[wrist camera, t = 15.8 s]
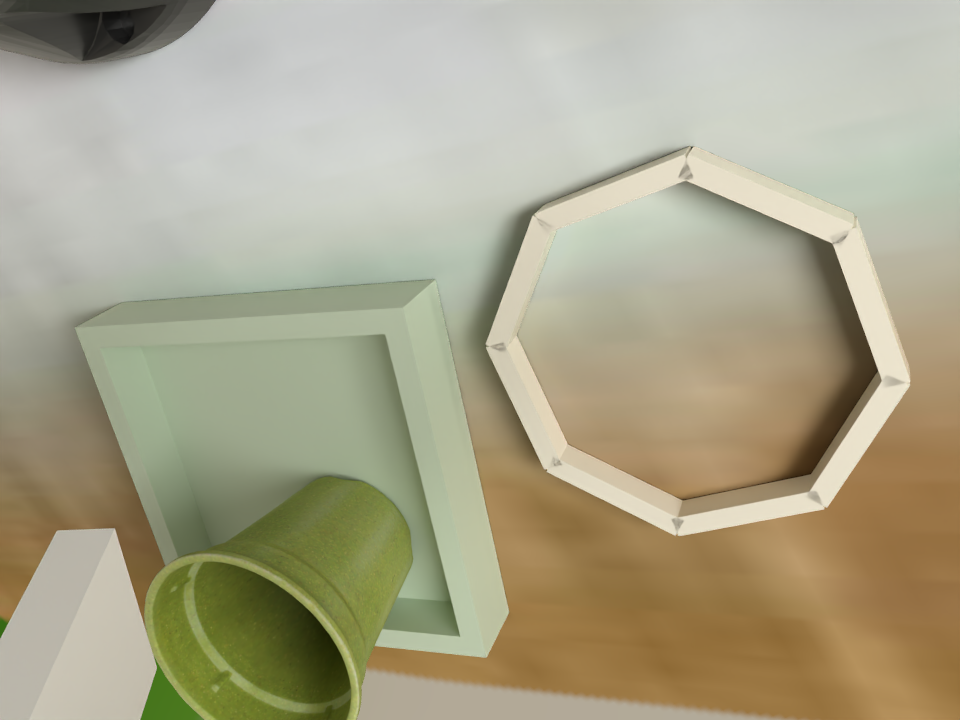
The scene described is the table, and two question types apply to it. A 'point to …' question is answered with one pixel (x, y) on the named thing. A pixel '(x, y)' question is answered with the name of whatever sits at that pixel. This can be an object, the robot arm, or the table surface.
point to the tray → (306, 431)
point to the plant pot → (283, 607)
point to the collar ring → (736, 503)
